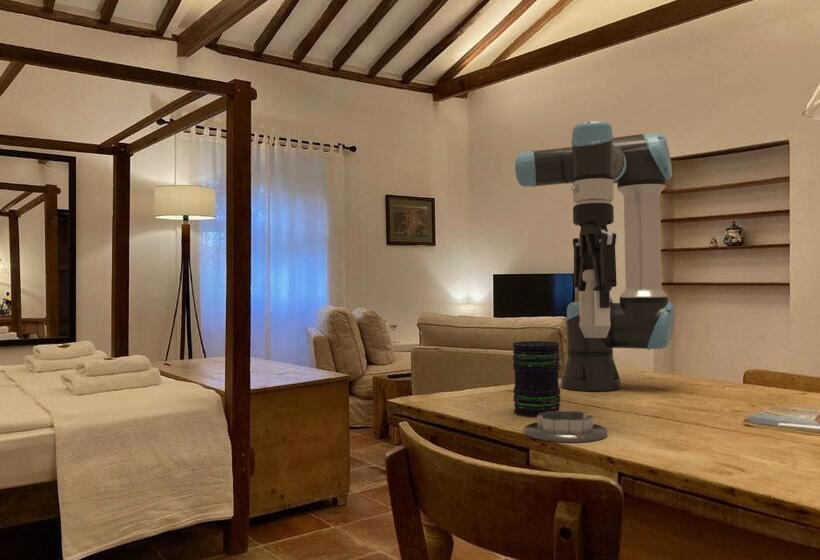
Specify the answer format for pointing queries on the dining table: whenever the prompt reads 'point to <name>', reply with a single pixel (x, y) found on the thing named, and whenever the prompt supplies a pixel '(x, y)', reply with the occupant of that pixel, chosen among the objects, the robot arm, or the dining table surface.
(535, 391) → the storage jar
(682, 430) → the dining table surface
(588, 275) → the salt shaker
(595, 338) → the robot arm
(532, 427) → the socket
